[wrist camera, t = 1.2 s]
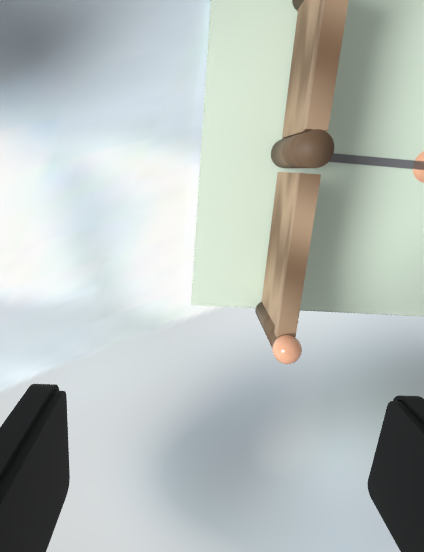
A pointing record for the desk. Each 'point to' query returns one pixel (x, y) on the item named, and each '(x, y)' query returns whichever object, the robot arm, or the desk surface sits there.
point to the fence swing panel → (287, 261)
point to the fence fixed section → (311, 85)
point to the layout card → (334, 175)
